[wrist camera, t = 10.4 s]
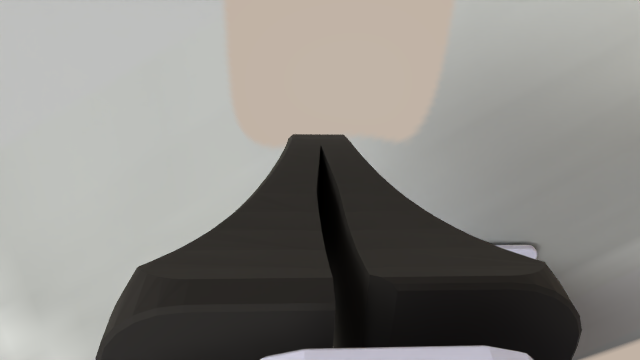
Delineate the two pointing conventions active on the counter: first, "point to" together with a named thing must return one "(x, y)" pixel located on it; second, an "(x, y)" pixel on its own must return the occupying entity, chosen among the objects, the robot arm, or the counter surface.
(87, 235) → the counter surface
